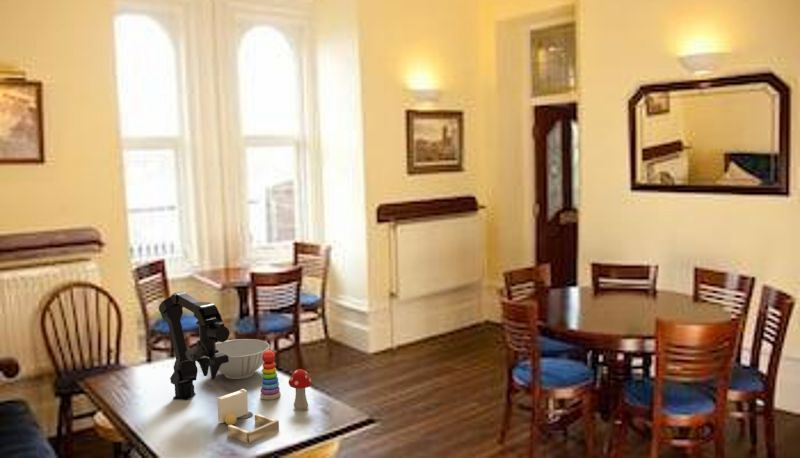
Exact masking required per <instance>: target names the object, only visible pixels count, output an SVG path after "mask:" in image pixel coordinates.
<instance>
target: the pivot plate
mask: <svg viewBox="0 0 800 458" xmlns="http://www.w3.org/2000/svg"><path fill="white" fill-rule="evenodd" d="M252 416H253V412H251V411H248V414H246V415H243V416H241V417H238V418H237V419H238V420H244V419H249V418H252Z"/></svg>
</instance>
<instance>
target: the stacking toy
mask: <svg viewBox="0 0 800 458" xmlns="http://www.w3.org/2000/svg"><path fill="white" fill-rule="evenodd" d="M275 358H276V354H275V352H273V351H272V350H270V349H269V350H268V351H265V352H264V353H263V355H262V359H263V361H264V363H263V364H262V369H261V372H262V373H261V383H260V384H261V385H260V387H261V388H260V396H259V397H260V398H261V399H262V400H266V401H268V400H269V401H270V400H271V401H272V400H276V399H278V398H279V397H280V396H281V390H280V386H279V385H280V382H279V377H278V372H276V371H277V368H276V364H277V363H276V362H274V361H275V360H276V359H275Z"/></svg>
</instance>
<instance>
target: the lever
mask: <svg viewBox="0 0 800 458" xmlns="http://www.w3.org/2000/svg"><path fill="white" fill-rule="evenodd" d="M216 400H217V401H216V402H217V418H218V422H219V423H221V424H224V423H226V422H225V418H226V416H227V415H228V414H234V415H235V416H236V418H237V419H238V417H241V416H243V415H246V414H248V412H249V409H248V391H247V390H246V389H245V388H241V389H239V390H237V391H234V392H231V393H228V394H225V395H222V396H219V397H217V399H216Z"/></svg>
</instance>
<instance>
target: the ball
mask: <svg viewBox="0 0 800 458" xmlns="http://www.w3.org/2000/svg"><path fill="white" fill-rule="evenodd" d="M237 419H238V418H236V416H235V415H234V414H228V415H227V416H226V418H225V422H224V423H226V425H227V426H228V425H233V426H234V425H235V424H236V423H237Z"/></svg>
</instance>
